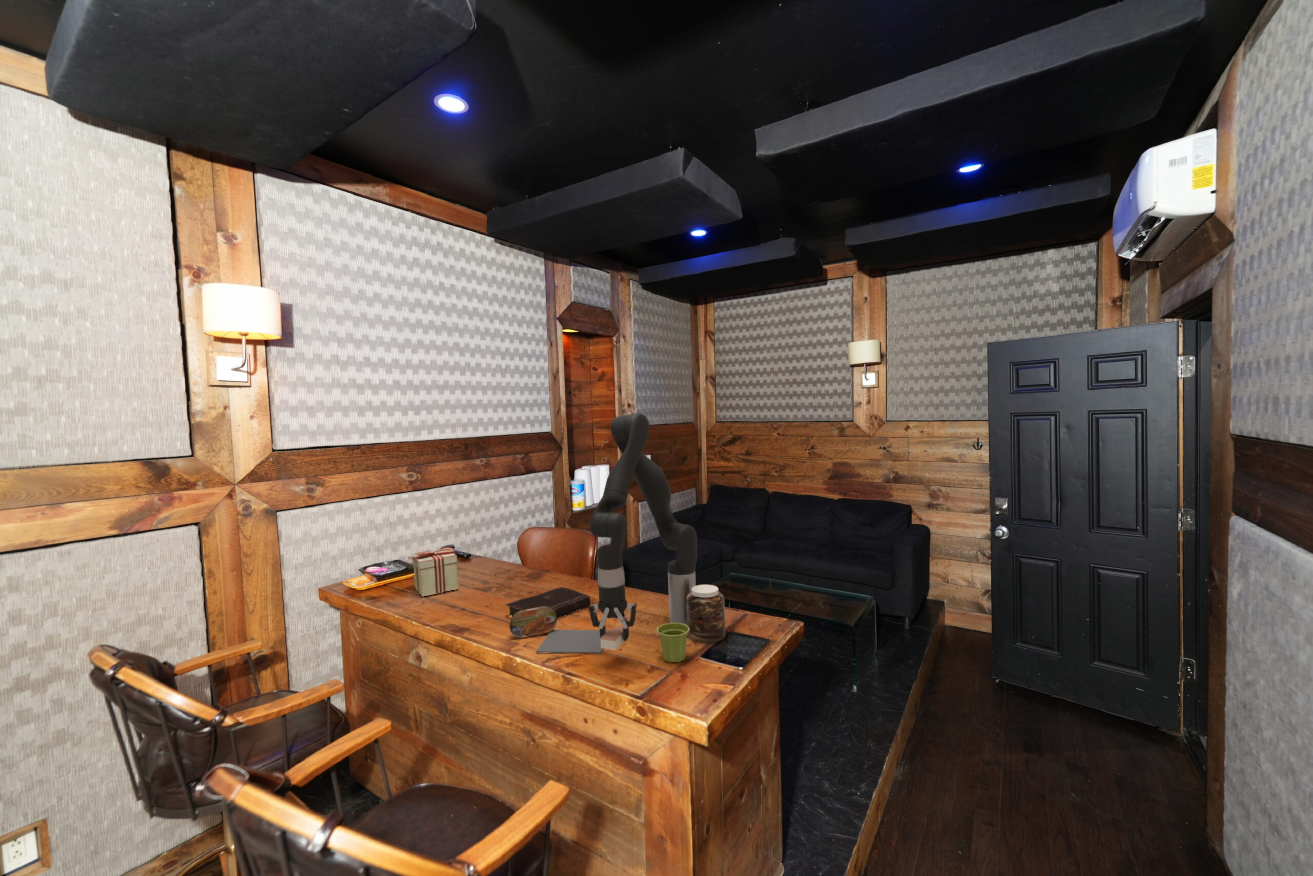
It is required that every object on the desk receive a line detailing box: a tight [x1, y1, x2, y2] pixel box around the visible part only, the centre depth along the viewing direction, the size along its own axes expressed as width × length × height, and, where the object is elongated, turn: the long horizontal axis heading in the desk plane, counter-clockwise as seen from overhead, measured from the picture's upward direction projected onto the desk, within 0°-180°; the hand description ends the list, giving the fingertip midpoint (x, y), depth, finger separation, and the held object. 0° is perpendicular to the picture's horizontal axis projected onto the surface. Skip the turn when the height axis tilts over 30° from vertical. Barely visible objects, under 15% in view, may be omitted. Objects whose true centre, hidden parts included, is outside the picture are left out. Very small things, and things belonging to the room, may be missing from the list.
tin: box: [508, 606, 558, 639], centre depth 173 cm, size 15×3×8 cm, turn 106°
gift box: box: [407, 546, 459, 596], centre depth 224 cm, size 17×18×17 cm
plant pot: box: [656, 622, 689, 664], centre depth 152 cm, size 9×9×9 cm
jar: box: [687, 584, 727, 644], centre depth 167 cm, size 12×12×15 cm
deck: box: [601, 625, 626, 651], centre depth 151 cm, size 4×8×3 cm, turn 156°
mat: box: [535, 629, 610, 655], centre depth 166 cm, size 20×16×1 cm
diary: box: [505, 586, 592, 619], centre depth 194 cm, size 19×25×5 cm
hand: (614, 639), depth 151 cm, fingers closed on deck, 5 cm apart
